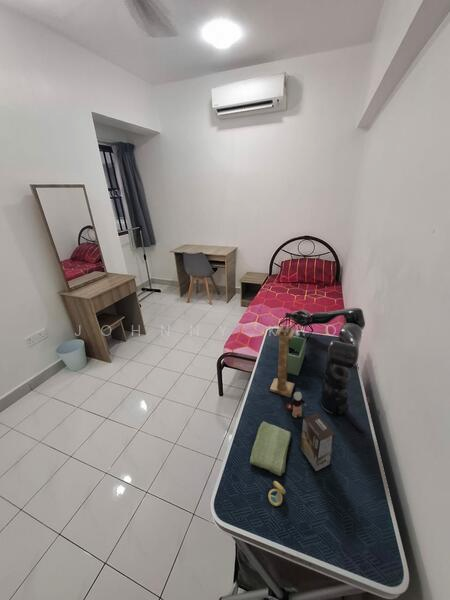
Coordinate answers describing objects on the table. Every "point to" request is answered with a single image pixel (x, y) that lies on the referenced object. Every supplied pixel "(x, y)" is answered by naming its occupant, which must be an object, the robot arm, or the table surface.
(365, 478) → the table surface
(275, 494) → the eyeshadow
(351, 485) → the table surface
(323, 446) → the coffee box
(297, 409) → the grandmother figurine
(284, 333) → the straw stand
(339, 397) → the robot arm
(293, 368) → the bin
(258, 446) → the washcloth
